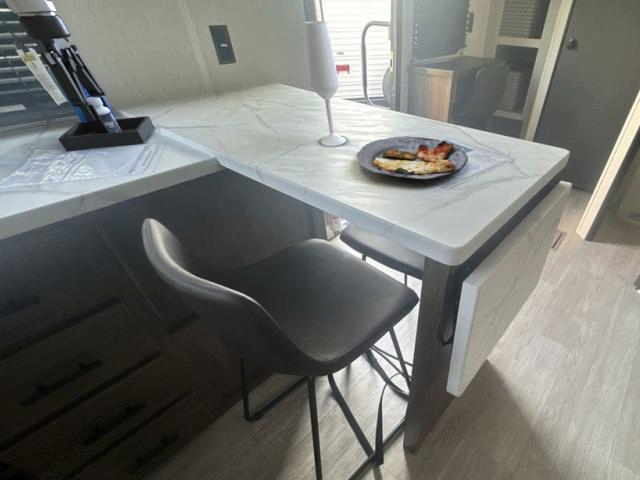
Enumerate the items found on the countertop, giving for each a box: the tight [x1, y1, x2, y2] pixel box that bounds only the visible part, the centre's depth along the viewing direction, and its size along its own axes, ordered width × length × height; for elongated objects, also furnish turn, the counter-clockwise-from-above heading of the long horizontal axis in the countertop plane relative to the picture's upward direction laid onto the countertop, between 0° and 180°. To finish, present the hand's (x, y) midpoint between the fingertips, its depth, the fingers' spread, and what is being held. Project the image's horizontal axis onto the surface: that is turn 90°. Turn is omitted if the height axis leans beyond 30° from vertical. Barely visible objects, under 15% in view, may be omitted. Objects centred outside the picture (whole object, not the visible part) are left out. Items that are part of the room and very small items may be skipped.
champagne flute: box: [304, 20, 347, 147], centre depth 75 cm, size 7×7×24 cm
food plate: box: [356, 135, 469, 180], centre depth 72 cm, size 25×23×4 cm
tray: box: [57, 115, 156, 152], centre depth 85 cm, size 18×14×3 cm
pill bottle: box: [87, 97, 122, 133], centre depth 83 cm, size 5×5×9 cm
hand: (108, 128), depth 84 cm, fingers open, 7 cm apart
